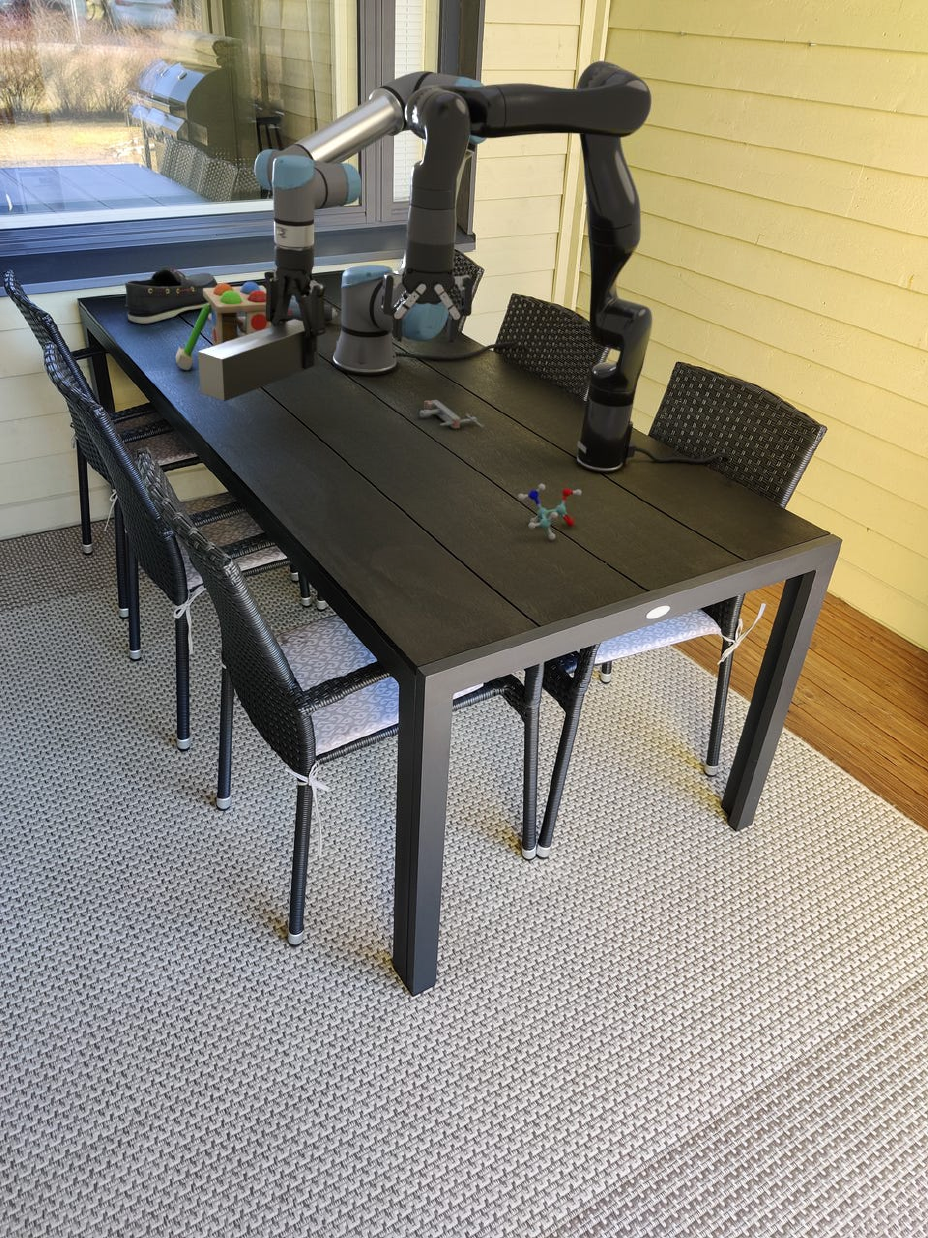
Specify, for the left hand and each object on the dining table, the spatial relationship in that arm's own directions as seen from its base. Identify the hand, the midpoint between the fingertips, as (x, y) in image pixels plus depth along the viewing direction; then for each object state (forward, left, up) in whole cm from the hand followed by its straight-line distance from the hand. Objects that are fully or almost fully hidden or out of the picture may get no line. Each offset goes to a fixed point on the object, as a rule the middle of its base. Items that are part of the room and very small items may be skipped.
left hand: (295, 362), depth 200 cm
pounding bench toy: (-5, -35, -13) cm, 38 cm away
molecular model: (-10, +63, -13) cm, 65 cm away
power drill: (-44, -59, -13) cm, 74 cm away
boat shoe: (-15, -78, -13) cm, 81 cm away
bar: (+10, +3, -1) cm, 10 cm away
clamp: (-27, +18, -13) cm, 35 cm away
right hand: (+7, +46, +20) cm, 51 cm away
